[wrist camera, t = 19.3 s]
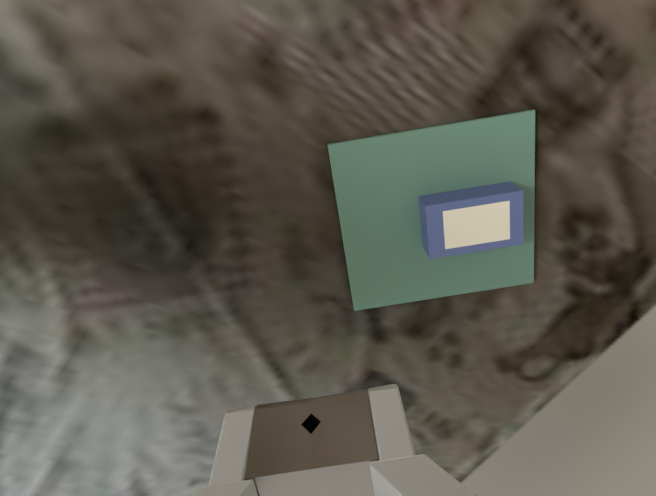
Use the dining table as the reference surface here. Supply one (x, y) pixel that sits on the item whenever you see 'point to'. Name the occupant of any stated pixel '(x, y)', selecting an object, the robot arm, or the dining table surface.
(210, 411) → the dining table surface
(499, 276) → the mat
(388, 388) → the robot arm
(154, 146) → the dining table surface
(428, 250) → the block
